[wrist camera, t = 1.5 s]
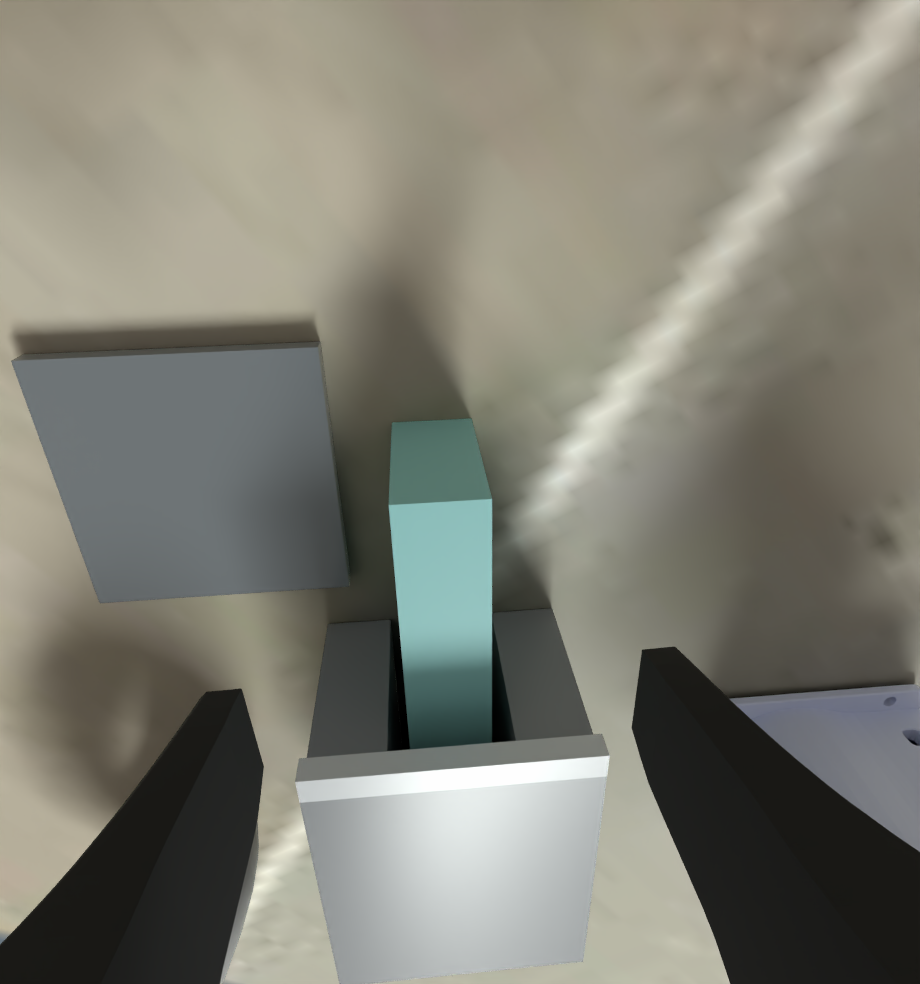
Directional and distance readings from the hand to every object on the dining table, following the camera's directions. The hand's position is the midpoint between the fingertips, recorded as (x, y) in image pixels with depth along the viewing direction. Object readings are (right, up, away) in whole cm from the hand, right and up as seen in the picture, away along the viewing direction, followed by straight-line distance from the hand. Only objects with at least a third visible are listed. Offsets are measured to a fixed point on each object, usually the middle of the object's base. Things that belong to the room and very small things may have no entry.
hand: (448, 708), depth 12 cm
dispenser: (0, -4, +13) cm, 14 cm away
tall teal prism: (-1, +1, +10) cm, 10 cm away
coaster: (-8, +4, +8) cm, 12 cm away
